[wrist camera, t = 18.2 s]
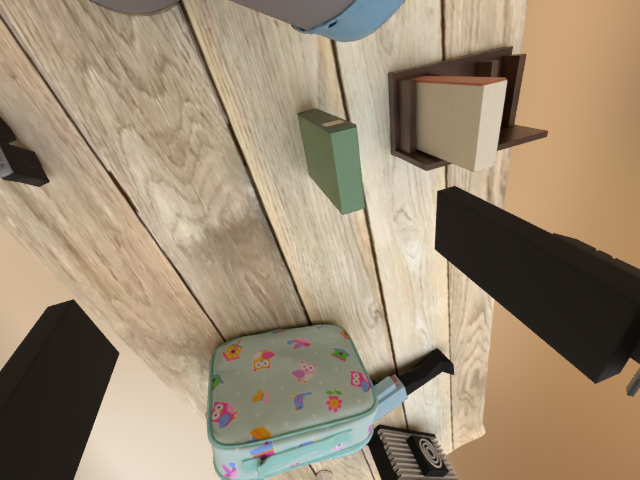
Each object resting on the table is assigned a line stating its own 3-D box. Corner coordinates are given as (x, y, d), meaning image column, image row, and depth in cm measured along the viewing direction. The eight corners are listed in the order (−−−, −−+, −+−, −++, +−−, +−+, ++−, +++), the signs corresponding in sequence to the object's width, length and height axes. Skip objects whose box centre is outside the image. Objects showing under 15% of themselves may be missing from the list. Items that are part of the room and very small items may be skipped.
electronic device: (440, 428, 98) (484, 501, 82) (418, 448, 101) (457, 523, 84) (385, 418, 84) (426, 503, 68) (361, 441, 87) (395, 529, 70)
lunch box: (209, 376, 57) (203, 515, 39) (202, 337, 52) (191, 478, 34) (339, 350, 64) (385, 458, 46) (344, 314, 59) (397, 420, 41)
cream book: (405, 79, 39) (484, 83, 27) (423, 75, 39) (508, 77, 28) (406, 145, 44) (473, 172, 32) (422, 141, 44) (494, 166, 32)
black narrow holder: (-1, 124, 33) (-59, 102, 27) (17, 116, 33) (-38, 93, 27) (33, 189, 33) (-19, 179, 27) (50, 181, 33) (1, 170, 28)
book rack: (388, 73, 39) (428, 73, 31) (506, 46, 42) (569, 41, 34) (391, 154, 45) (426, 171, 37) (494, 126, 48) (547, 137, 40)
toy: (454, 380, 74) (353, 451, 68) (432, 357, 80) (338, 420, 75) (452, 357, 69) (343, 433, 63) (429, 335, 75) (327, 401, 69)
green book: (297, 113, 38) (329, 131, 27) (316, 108, 39) (356, 124, 27) (309, 176, 43) (342, 215, 31) (326, 171, 43) (365, 208, 32)
